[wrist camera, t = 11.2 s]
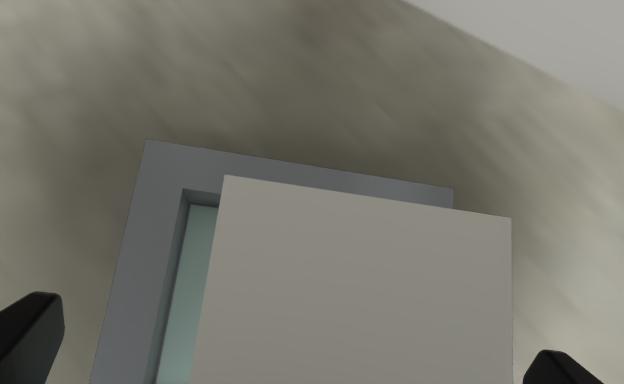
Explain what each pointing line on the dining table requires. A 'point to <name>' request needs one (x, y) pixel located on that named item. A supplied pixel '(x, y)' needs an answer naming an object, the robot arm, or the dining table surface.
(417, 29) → the dining table surface
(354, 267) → the light grey tall block
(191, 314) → the socket
